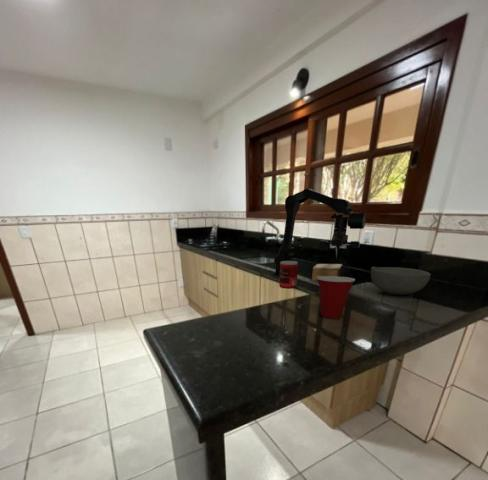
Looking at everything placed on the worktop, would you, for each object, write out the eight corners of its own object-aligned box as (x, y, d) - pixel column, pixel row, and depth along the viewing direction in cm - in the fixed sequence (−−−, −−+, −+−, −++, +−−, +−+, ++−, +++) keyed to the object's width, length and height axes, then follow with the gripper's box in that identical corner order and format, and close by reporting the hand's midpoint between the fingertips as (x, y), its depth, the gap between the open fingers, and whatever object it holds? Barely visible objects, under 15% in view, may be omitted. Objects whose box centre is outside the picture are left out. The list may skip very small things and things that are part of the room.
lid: (342, 265, 135) (342, 264, 134) (339, 269, 124) (339, 267, 124) (317, 265, 139) (317, 263, 139) (312, 268, 129) (313, 267, 129)
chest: (338, 277, 137) (340, 266, 135) (336, 282, 126) (337, 270, 124) (316, 276, 142) (317, 265, 140) (311, 280, 131) (312, 268, 129)
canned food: (295, 285, 121) (297, 260, 117) (297, 289, 114) (298, 263, 110) (278, 284, 122) (279, 260, 118) (279, 288, 114) (280, 263, 111)
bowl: (414, 304, 92) (421, 275, 88) (358, 293, 106) (362, 268, 103) (432, 294, 104) (438, 269, 101) (379, 286, 119) (384, 263, 115)
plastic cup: (349, 312, 84) (354, 274, 80) (350, 323, 74) (356, 281, 70) (314, 308, 87) (318, 272, 83) (311, 319, 78) (315, 278, 73)
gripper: (317, 229, 120) (313, 263, 126) (360, 229, 113) (355, 265, 119) (321, 228, 130) (318, 260, 136) (361, 228, 123) (356, 262, 128)
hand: (336, 262), depth 129 cm, fingers closed
